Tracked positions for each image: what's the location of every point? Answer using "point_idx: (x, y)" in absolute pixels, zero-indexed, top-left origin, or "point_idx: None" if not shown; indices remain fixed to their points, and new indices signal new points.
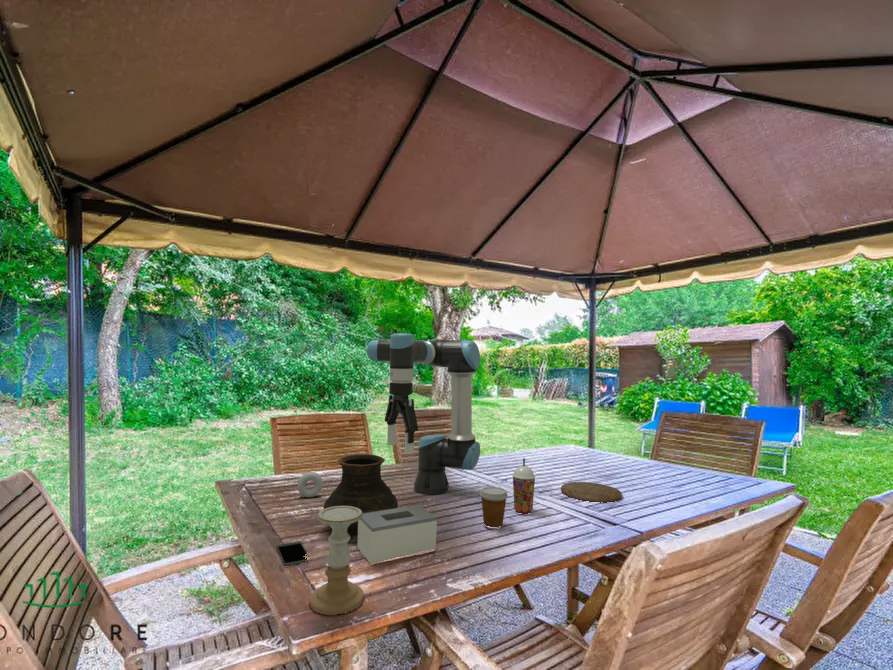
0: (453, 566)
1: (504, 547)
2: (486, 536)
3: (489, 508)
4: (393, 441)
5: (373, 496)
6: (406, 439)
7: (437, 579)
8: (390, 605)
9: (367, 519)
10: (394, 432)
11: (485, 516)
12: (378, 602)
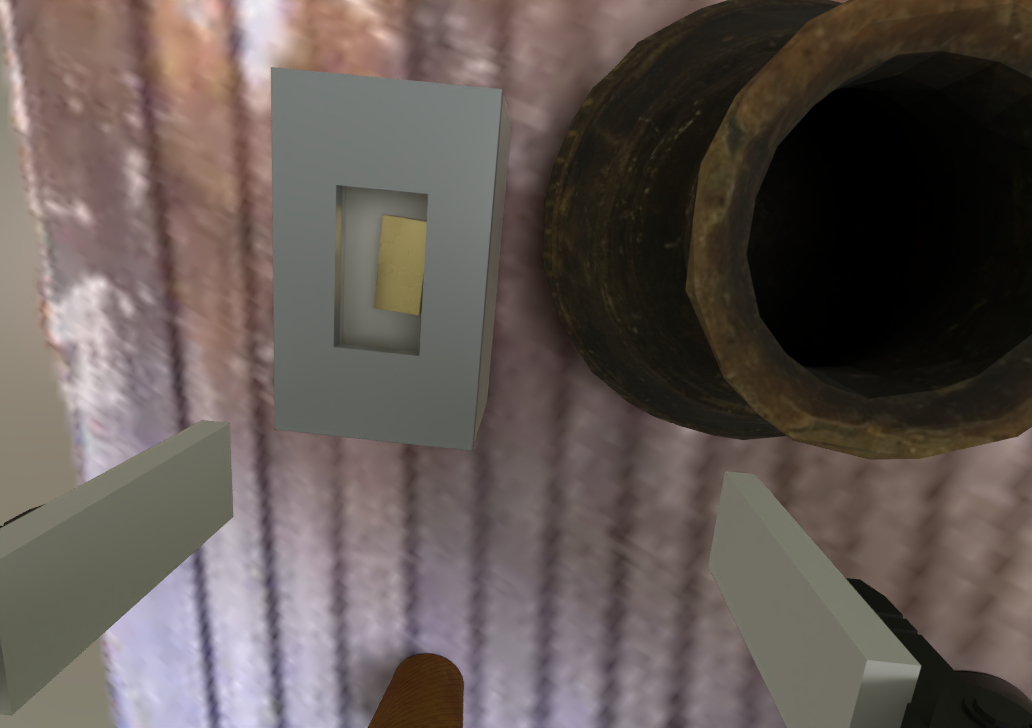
0: (204, 370)
1: (256, 597)
2: (361, 607)
3: (384, 718)
4: (726, 560)
5: (608, 238)
6: (61, 504)
7: (143, 270)
8: (46, 36)
9: (399, 99)
10: (769, 659)
11: (417, 684)
12: (77, 7)
